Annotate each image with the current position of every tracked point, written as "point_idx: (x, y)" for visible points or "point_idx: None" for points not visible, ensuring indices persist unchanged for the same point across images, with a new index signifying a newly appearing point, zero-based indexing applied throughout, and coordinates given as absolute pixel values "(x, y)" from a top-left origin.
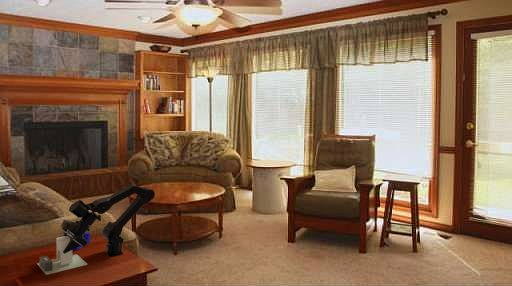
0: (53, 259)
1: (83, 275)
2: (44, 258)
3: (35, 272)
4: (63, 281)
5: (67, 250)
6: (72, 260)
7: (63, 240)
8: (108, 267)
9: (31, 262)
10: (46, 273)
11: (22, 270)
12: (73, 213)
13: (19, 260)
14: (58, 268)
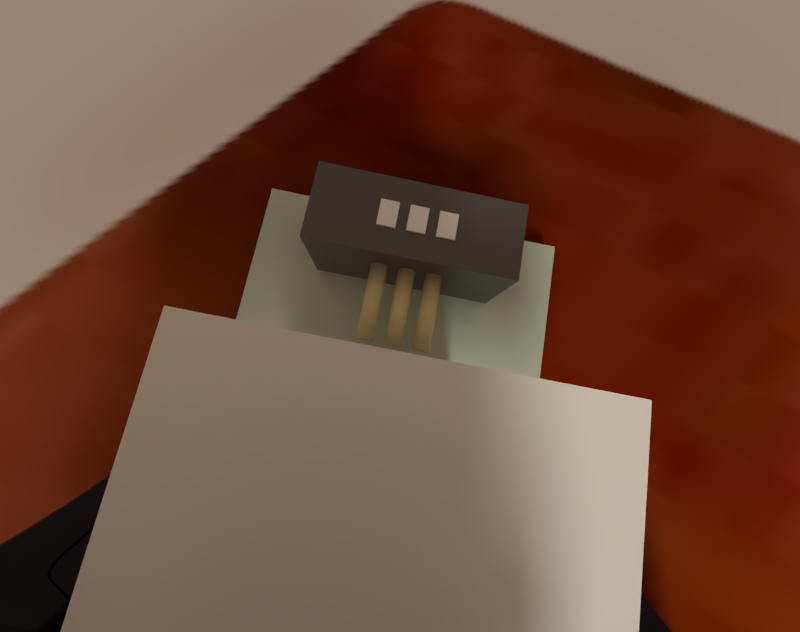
0: (419, 320)
1: (27, 438)
2: (449, 217)
3: None
4: (81, 248)
5: None
6: None
7: (234, 468)
8: None
9: (633, 254)
10: (293, 201)
11: (528, 140)
12: None
13: (730, 210)
14: (309, 325)
